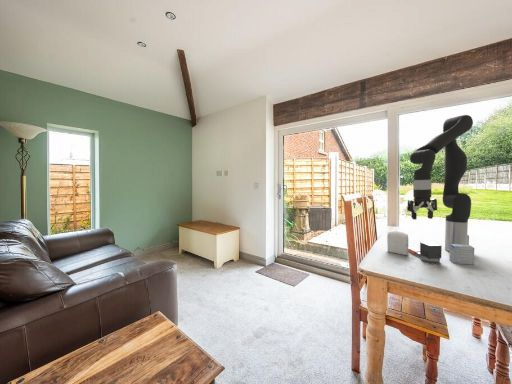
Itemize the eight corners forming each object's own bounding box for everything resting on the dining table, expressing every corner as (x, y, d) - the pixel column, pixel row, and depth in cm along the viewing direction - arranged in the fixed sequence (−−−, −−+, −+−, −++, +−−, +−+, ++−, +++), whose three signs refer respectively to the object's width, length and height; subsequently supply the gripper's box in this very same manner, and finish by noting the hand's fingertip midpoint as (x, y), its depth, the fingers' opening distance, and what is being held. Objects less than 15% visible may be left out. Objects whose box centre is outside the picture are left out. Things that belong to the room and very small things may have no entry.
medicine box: (468, 261, 108) (469, 244, 107) (474, 265, 103) (474, 247, 103) (449, 260, 110) (449, 243, 110) (453, 263, 106) (454, 246, 105)
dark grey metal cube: (431, 254, 113) (431, 241, 112) (441, 258, 107) (441, 245, 106) (420, 254, 113) (420, 242, 112) (429, 258, 107) (429, 245, 106)
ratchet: (416, 251, 124) (416, 241, 124) (444, 263, 106) (444, 251, 106) (403, 251, 124) (403, 241, 124) (428, 264, 106) (428, 252, 106)
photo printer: (386, 251, 125) (386, 230, 124) (388, 249, 128) (389, 229, 127) (406, 256, 117) (407, 233, 116) (409, 254, 120) (409, 232, 119)
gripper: (429, 187, 117) (429, 217, 118) (403, 188, 117) (403, 218, 118) (441, 188, 109) (441, 219, 110) (414, 189, 109) (414, 221, 110)
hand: (422, 218), depth 114 cm, fingers open, 8 cm apart
